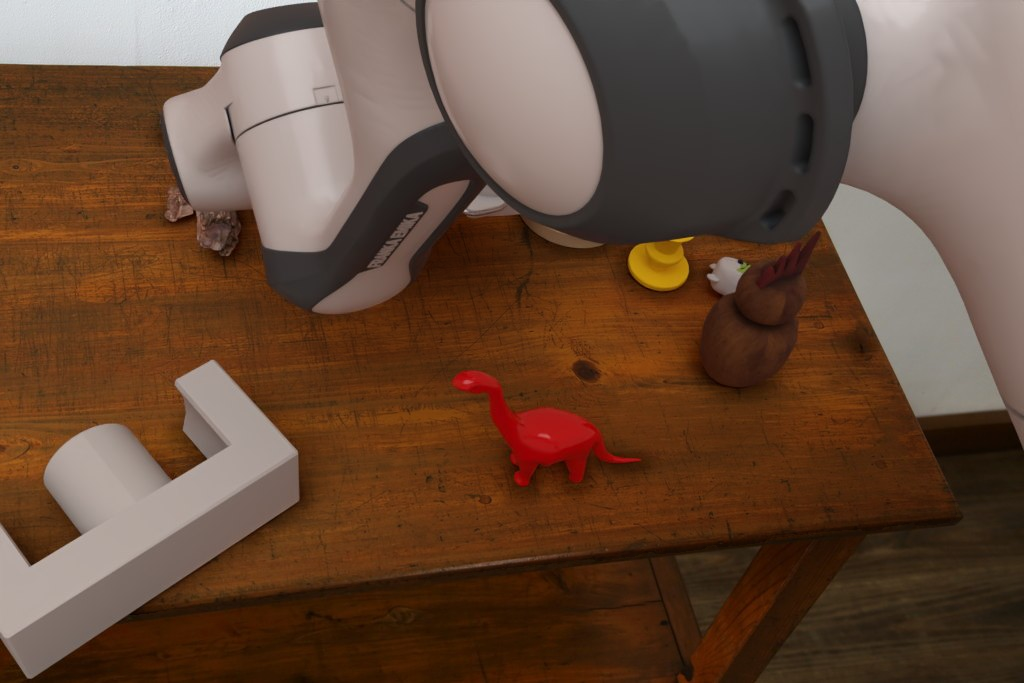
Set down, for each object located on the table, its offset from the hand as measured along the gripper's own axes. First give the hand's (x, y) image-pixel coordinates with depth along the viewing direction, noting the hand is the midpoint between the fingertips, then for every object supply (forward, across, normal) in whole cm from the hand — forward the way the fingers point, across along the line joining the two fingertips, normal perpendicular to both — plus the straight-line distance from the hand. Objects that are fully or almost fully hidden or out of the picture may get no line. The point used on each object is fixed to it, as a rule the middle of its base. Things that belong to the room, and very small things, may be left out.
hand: (570, 87), depth 79 cm
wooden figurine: (+8, -20, +14) cm, 25 cm away
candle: (+7, -9, +14) cm, 18 cm away
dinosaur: (-11, -23, +14) cm, 29 cm away
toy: (+19, -23, +12) cm, 32 cm away
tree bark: (-29, +9, +11) cm, 32 cm away
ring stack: (+3, 0, +14) cm, 14 cm away
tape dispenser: (-38, -19, +13) cm, 44 cm away
